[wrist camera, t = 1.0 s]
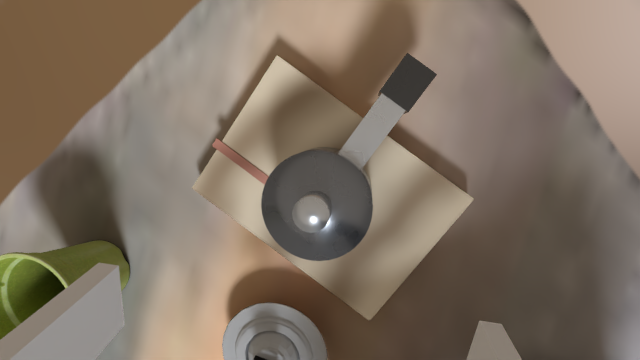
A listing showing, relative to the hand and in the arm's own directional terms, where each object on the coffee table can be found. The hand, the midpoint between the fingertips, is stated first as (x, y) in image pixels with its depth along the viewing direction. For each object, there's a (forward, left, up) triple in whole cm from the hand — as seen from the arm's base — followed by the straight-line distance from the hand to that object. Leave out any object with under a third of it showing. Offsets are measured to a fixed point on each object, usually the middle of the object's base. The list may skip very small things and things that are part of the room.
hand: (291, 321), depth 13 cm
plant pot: (+16, +20, -20) cm, 32 cm away
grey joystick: (-3, +14, -20) cm, 25 cm away
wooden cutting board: (+2, -1, -19) cm, 20 cm away
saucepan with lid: (+2, -5, -17) cm, 18 cm away
